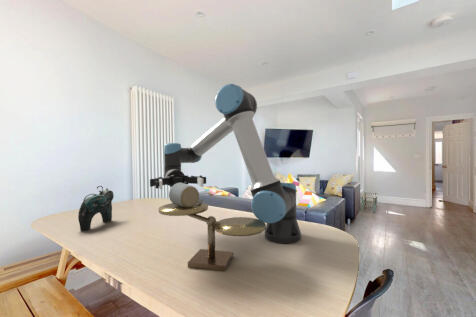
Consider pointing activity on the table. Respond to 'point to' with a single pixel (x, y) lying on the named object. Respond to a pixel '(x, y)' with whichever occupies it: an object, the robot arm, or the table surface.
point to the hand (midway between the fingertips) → (182, 183)
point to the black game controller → (95, 208)
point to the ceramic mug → (184, 195)
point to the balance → (228, 226)
